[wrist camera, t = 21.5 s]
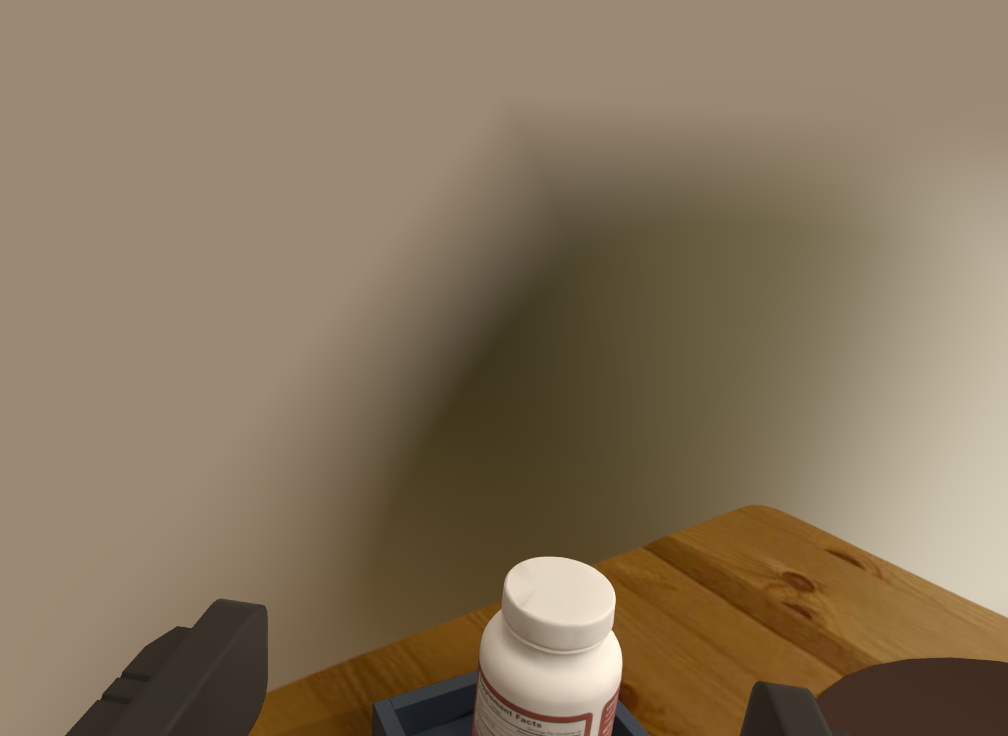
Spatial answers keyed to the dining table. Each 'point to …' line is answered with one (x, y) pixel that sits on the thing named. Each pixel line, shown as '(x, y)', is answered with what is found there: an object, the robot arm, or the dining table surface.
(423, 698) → the tray
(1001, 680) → the plate
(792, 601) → the dining table surface
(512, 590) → the pill bottle
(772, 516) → the dining table surface
